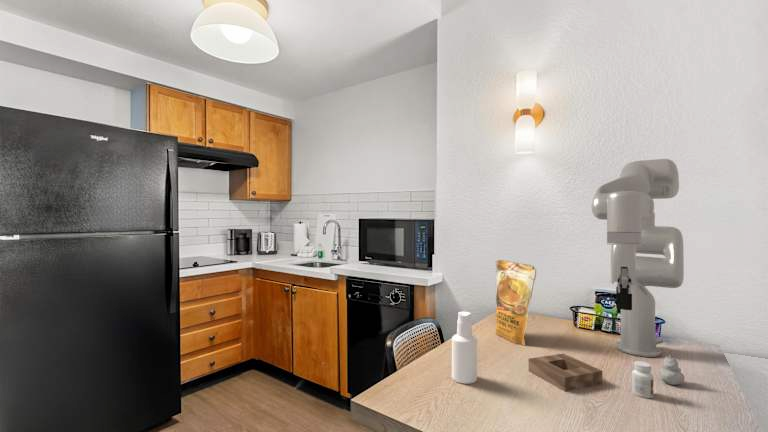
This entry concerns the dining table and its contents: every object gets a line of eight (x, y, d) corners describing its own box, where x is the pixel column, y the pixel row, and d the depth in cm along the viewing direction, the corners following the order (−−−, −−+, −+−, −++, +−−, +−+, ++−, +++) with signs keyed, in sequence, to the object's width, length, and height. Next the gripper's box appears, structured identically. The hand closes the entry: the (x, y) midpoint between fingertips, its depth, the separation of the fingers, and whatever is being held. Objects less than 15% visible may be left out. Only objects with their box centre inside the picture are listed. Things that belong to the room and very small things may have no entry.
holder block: (563, 365, 109) (563, 353, 109) (602, 383, 96) (602, 370, 96) (528, 370, 104) (528, 358, 104) (564, 391, 92) (564, 377, 92)
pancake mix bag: (502, 329, 143) (502, 259, 143) (537, 345, 125) (538, 265, 125) (488, 331, 141) (488, 259, 141) (522, 347, 123) (522, 265, 123)
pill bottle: (657, 399, 88) (657, 367, 88) (637, 397, 89) (637, 366, 89) (647, 391, 93) (647, 361, 93) (628, 389, 93) (628, 359, 93)
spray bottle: (477, 375, 101) (478, 311, 101) (475, 386, 95) (476, 317, 95) (453, 371, 103) (453, 309, 103) (449, 382, 97) (450, 315, 97)
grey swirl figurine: (653, 381, 98) (653, 351, 98) (667, 376, 101) (667, 348, 101) (676, 389, 93) (676, 358, 94) (690, 384, 96) (690, 354, 96)
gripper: (607, 237, 103) (607, 297, 102) (606, 240, 88) (605, 310, 88) (639, 238, 98) (639, 301, 98) (644, 241, 84) (643, 315, 84)
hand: (623, 305), depth 93 cm, fingers open, 9 cm apart
